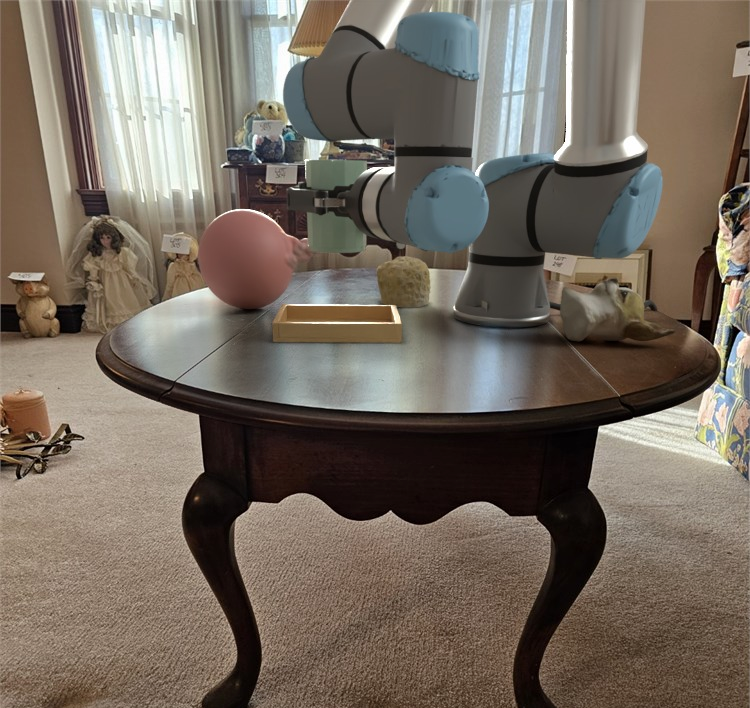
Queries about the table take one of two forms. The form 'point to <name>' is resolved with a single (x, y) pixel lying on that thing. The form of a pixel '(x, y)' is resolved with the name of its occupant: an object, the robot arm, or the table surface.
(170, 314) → the table surface
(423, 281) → the coral
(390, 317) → the tray
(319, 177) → the cup
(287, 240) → the balloon
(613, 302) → the ceramic sculpture
